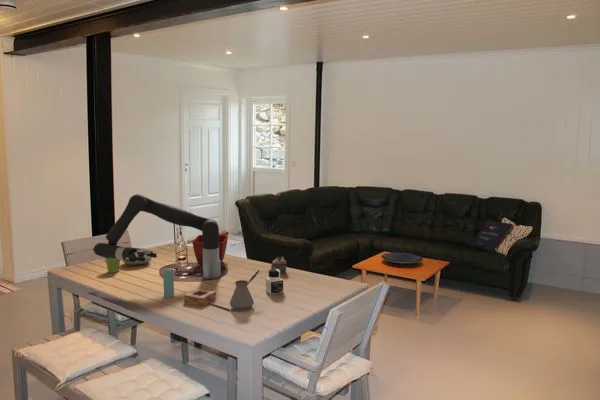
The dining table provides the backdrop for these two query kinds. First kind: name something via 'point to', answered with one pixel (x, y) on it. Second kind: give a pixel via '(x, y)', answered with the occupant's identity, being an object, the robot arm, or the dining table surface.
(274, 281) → the medicine bottle
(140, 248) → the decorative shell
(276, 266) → the cupcake
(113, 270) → the plant pot
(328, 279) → the dining table surface
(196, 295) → the brown square slotted piece
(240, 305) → the coffee pot
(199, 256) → the plant pot
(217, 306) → the dark grey rod
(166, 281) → the peg
